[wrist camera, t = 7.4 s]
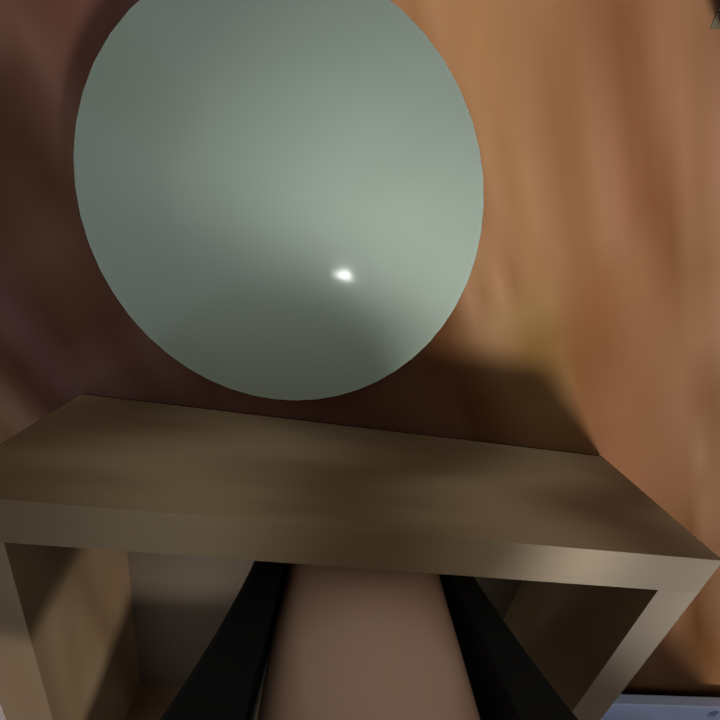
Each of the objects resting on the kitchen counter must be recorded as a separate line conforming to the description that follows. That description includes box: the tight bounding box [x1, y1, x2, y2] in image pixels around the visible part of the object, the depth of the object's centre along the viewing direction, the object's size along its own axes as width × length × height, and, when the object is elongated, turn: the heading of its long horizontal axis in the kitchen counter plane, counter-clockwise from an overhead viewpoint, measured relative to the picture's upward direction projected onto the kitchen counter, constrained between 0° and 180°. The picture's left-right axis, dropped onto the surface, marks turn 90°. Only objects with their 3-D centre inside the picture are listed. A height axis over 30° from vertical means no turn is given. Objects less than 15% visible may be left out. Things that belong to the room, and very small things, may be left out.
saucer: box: [73, 0, 484, 401], centre depth 7 cm, size 8×8×1 cm
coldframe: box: [0, 394, 720, 720], centre depth 10 cm, size 15×13×4 cm
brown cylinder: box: [257, 563, 481, 720], centre depth 8 cm, size 4×4×6 cm
